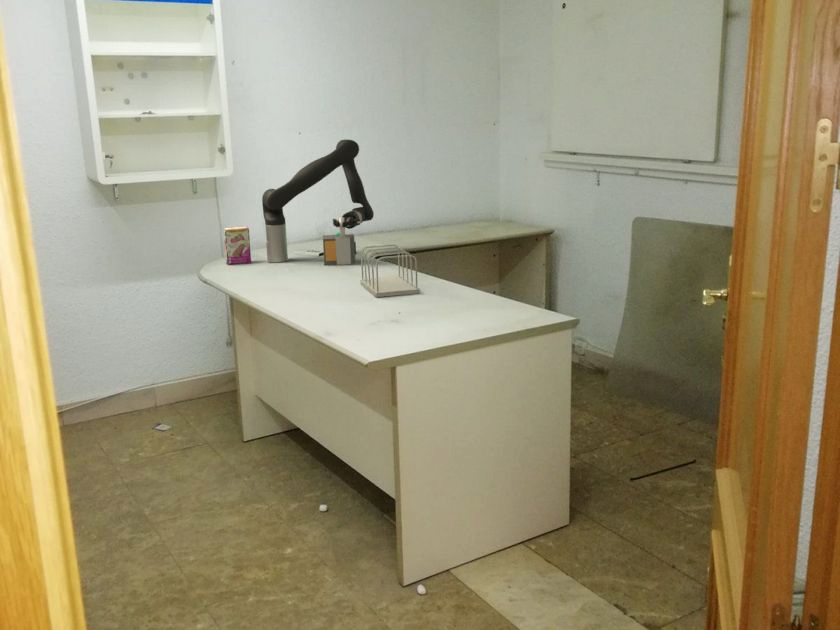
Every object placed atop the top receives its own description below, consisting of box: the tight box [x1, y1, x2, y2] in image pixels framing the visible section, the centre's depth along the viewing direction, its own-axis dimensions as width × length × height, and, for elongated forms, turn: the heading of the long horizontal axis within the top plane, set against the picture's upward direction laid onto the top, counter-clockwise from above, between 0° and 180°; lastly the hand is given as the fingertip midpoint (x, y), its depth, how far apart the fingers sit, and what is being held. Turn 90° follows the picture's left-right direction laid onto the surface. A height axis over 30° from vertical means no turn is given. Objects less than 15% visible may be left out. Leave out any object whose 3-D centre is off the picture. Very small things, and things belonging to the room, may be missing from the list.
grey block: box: [322, 233, 357, 266], centre depth 374 cm, size 15×10×12 cm
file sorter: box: [359, 244, 421, 298], centre depth 320 cm, size 25×17×16 cm
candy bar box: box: [222, 226, 252, 266], centre depth 378 cm, size 11×5×16 cm, turn 113°
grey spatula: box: [335, 216, 352, 266], centre depth 368 cm, size 6×2×21 cm, turn 97°
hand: (339, 225), depth 363 cm, fingers closed on grey spatula, 2 cm apart
